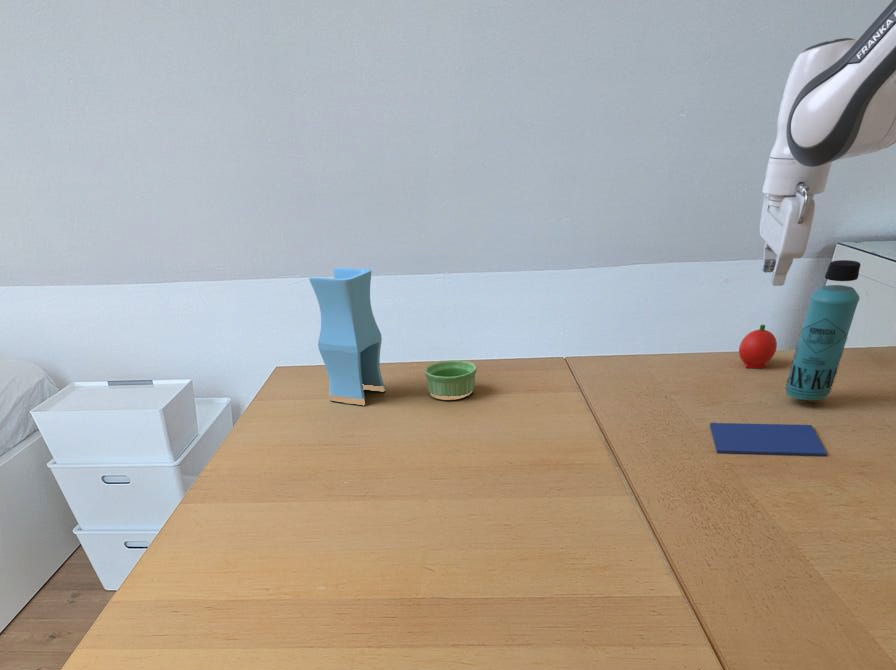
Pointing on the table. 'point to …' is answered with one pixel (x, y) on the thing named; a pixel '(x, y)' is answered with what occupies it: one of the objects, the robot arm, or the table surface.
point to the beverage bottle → (824, 334)
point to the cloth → (766, 439)
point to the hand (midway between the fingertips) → (772, 278)
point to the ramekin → (451, 378)
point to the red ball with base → (757, 348)
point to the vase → (348, 332)
